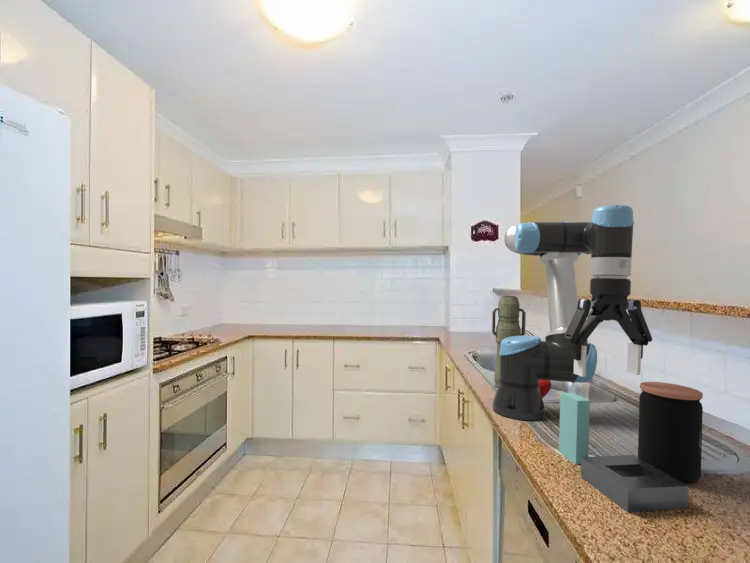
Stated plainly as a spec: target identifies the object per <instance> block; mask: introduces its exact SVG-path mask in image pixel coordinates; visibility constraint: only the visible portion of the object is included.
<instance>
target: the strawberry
mask: <svg viewBox="0 0 750 563" xmlns="http://www.w3.org/2000/svg"><path fill="white" fill-rule="evenodd" d="M551 387H552V381H551V380H540V381H539V390H540V394H541V397H542V400H543V398H545V396H546V395H548V394H549V392H550V391H551Z"/></svg>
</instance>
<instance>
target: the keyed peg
mask: <svg viewBox="0 0 750 563" xmlns="http://www.w3.org/2000/svg"><path fill="white" fill-rule="evenodd" d="M559 395H560V397H559V398H560V400H559V402H560V403H559V432H558V434H559V435H558V439H559V440H558V453H559V454H561V455H562V456H564V457H565V458H567V459H568V460H569V461H571V462H572V463H573V464H575V465H581V457H589V450H590V448H589V446H590V445H589V443H590V416H591V415H590V414H591V413H590V412H591V411H590V410H591V409H590V408H591V407H590V405H591V404H590V403H591V400H589V399H588V398H585V397H582V396H581V395H578V394H576V393H574V392H560V394H559Z"/></svg>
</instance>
